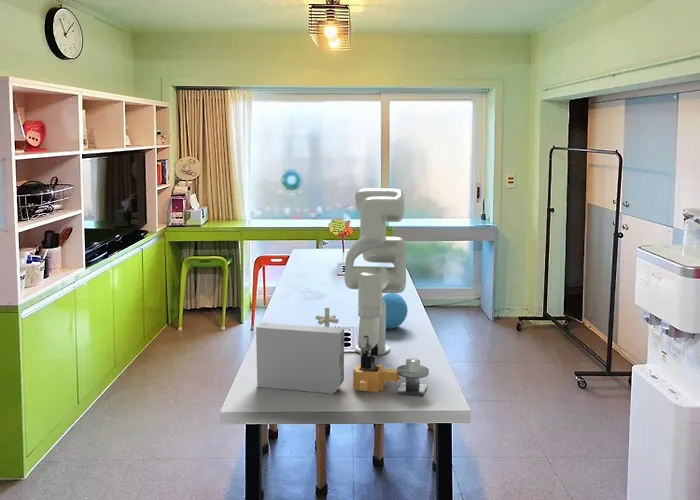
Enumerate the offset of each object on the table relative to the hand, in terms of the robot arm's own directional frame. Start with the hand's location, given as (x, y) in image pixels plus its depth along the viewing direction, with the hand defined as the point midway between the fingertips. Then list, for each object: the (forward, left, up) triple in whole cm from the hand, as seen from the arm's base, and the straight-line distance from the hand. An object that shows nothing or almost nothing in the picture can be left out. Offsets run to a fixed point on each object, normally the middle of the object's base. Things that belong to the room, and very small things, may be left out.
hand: (369, 362), depth 221 cm
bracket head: (+2, +2, -8) cm, 8 cm away
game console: (+7, -21, -8) cm, 23 cm away
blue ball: (-65, -8, -8) cm, 66 cm away
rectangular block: (0, 0, -8) cm, 8 cm away
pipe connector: (-53, -30, -8) cm, 61 cm away
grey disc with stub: (0, +14, -8) cm, 16 cm away
